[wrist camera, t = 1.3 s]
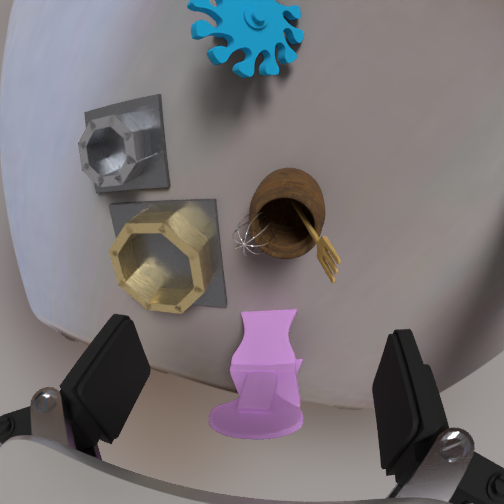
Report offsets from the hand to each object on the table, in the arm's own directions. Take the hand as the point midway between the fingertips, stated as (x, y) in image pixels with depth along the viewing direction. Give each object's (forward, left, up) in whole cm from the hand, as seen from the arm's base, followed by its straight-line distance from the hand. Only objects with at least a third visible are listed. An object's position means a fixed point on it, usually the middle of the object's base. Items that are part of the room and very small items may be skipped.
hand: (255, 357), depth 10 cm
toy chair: (+2, +17, -19) cm, 26 cm away
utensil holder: (0, 0, -19) cm, 19 cm away
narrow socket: (+16, -6, -19) cm, 25 cm away
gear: (+2, -16, -19) cm, 25 cm away
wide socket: (+13, +6, -19) cm, 24 cm away
